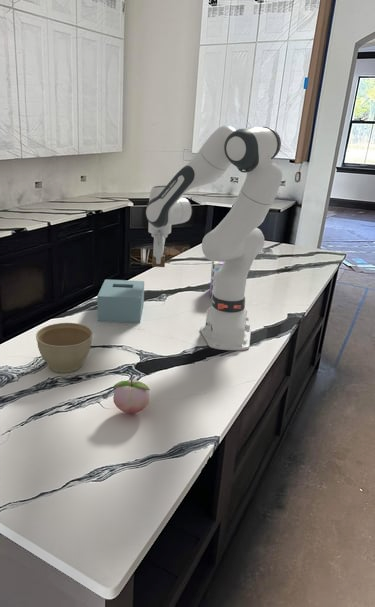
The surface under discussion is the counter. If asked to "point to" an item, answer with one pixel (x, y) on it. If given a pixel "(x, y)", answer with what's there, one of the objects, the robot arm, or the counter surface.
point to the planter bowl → (64, 345)
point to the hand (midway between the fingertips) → (158, 262)
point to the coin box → (121, 301)
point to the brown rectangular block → (160, 263)
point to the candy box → (215, 268)
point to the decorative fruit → (131, 396)
